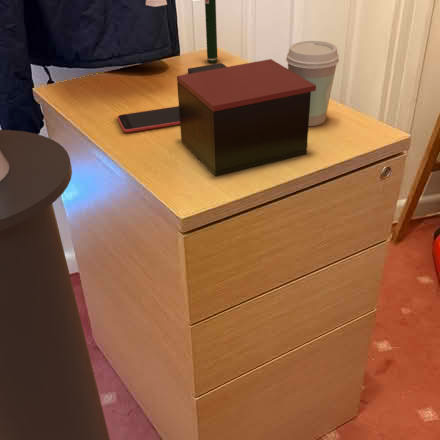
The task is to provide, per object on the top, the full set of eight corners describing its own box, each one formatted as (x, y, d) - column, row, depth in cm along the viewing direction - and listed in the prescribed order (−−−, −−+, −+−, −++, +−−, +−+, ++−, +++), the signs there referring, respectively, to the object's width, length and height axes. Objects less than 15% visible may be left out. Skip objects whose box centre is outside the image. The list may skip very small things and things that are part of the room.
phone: (221, 61, 121) (253, 84, 110) (221, 68, 122) (252, 91, 111) (186, 67, 119) (215, 91, 108) (187, 74, 120) (216, 98, 109)
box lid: (270, 63, 94) (271, 58, 93) (315, 90, 84) (316, 85, 84) (176, 81, 89) (176, 75, 88) (213, 111, 79) (213, 106, 79)
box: (265, 122, 100) (266, 64, 94) (306, 154, 90) (311, 91, 84) (181, 141, 95) (176, 81, 89) (215, 176, 85) (213, 112, 79)
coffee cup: (335, 129, 97) (342, 55, 89) (283, 129, 97) (287, 56, 90) (330, 109, 103) (337, 39, 96) (282, 109, 104) (285, 39, 96)
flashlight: (195, 63, 125) (190, -43, 112) (210, 56, 128) (206, -47, 115) (214, 67, 123) (211, -40, 110) (228, 60, 126) (227, -45, 113)
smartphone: (203, 118, 100) (123, 130, 97) (203, 121, 101) (124, 133, 98) (192, 103, 106) (116, 114, 102) (192, 106, 106) (116, 118, 103)
